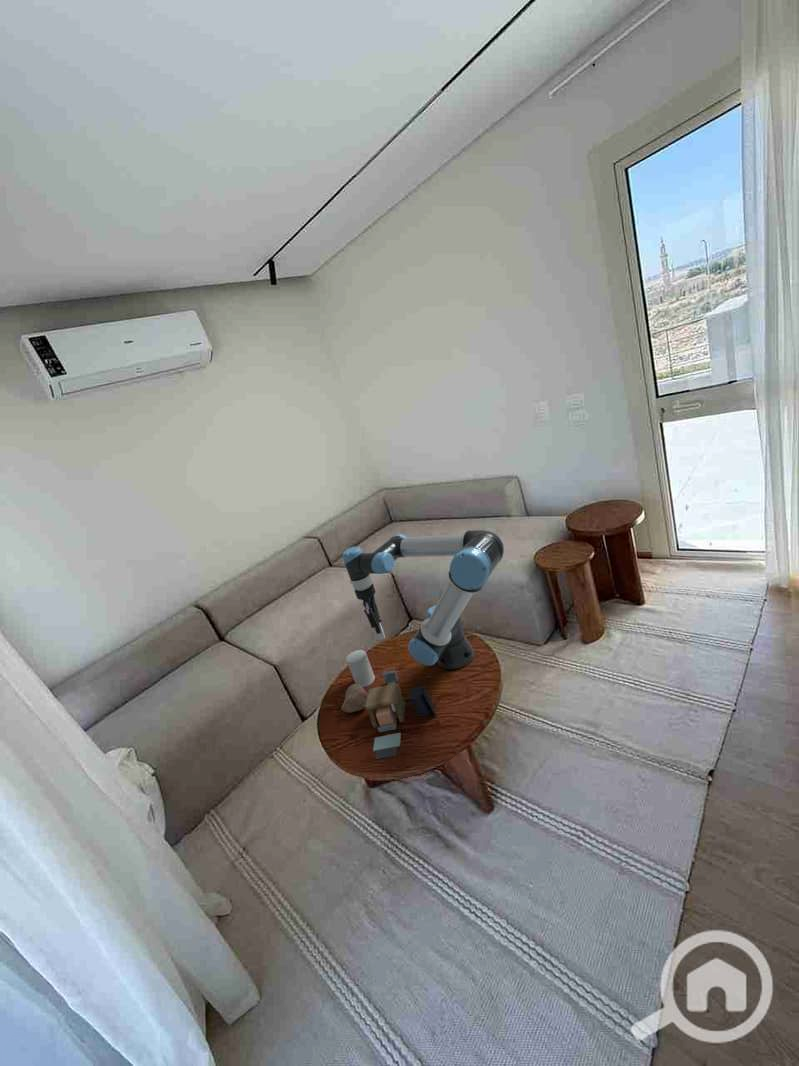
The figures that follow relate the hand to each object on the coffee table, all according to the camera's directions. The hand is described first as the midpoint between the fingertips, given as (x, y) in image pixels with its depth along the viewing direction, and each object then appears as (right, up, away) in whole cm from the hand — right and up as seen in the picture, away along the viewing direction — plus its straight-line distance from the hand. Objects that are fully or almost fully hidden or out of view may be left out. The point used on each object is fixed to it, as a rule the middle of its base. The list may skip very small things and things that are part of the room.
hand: (381, 638), depth 173 cm
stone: (-9, -24, -8) cm, 27 cm away
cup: (-7, -19, +5) cm, 21 cm away
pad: (+3, -27, -30) cm, 40 cm away
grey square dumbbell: (+4, -21, -13) cm, 25 cm away
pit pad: (+3, -29, -34) cm, 45 cm away
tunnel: (+4, -23, -18) cm, 29 cm away
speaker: (+16, -21, -22) cm, 34 cm away
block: (+3, -23, -23) cm, 33 cm away
